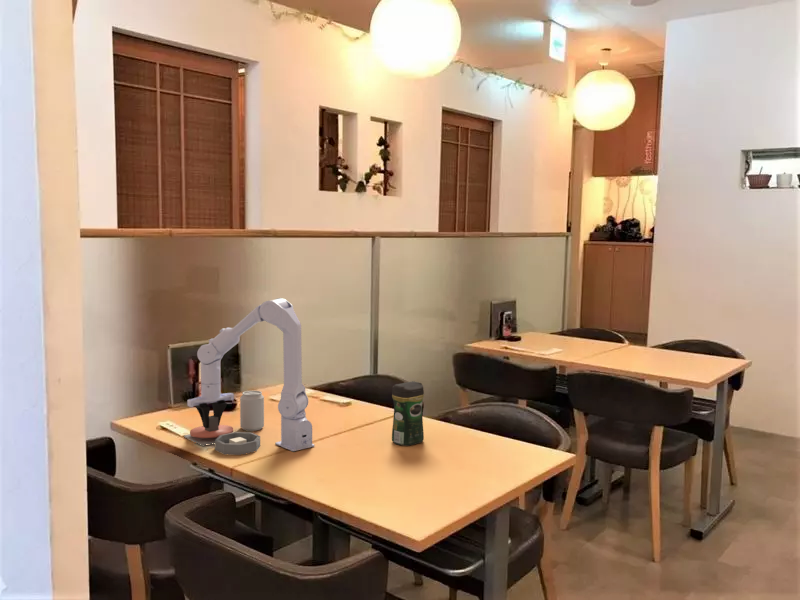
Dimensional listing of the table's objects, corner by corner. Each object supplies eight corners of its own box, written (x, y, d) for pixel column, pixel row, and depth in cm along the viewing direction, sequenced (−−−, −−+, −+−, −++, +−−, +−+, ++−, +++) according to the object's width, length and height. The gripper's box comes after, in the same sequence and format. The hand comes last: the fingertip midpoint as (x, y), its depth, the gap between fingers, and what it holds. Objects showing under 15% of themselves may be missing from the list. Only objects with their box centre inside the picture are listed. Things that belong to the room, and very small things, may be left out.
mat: (238, 438, 213) (238, 436, 213) (202, 446, 205) (202, 444, 205) (219, 430, 222) (219, 428, 222) (183, 437, 213) (183, 435, 213)
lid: (241, 432, 213) (240, 417, 212) (202, 440, 204) (202, 424, 204) (220, 425, 222) (219, 410, 222) (182, 432, 213) (181, 417, 213)
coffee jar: (410, 436, 219) (411, 378, 217) (427, 442, 213) (428, 382, 211) (386, 442, 212) (387, 382, 210) (404, 448, 206) (405, 386, 205)
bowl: (266, 448, 204) (266, 438, 203) (230, 457, 195) (230, 447, 195) (245, 439, 212) (245, 429, 212) (209, 447, 204) (209, 437, 204)
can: (251, 433, 219) (250, 395, 218) (235, 428, 224) (235, 392, 222) (268, 428, 225) (268, 391, 224) (253, 424, 229) (253, 388, 228)
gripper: (225, 377, 219) (225, 419, 221) (182, 383, 209) (183, 427, 211) (237, 381, 214) (237, 424, 216) (193, 387, 204) (194, 432, 206)
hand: (211, 426), depth 213 cm, fingers closed on lid, 3 cm apart
